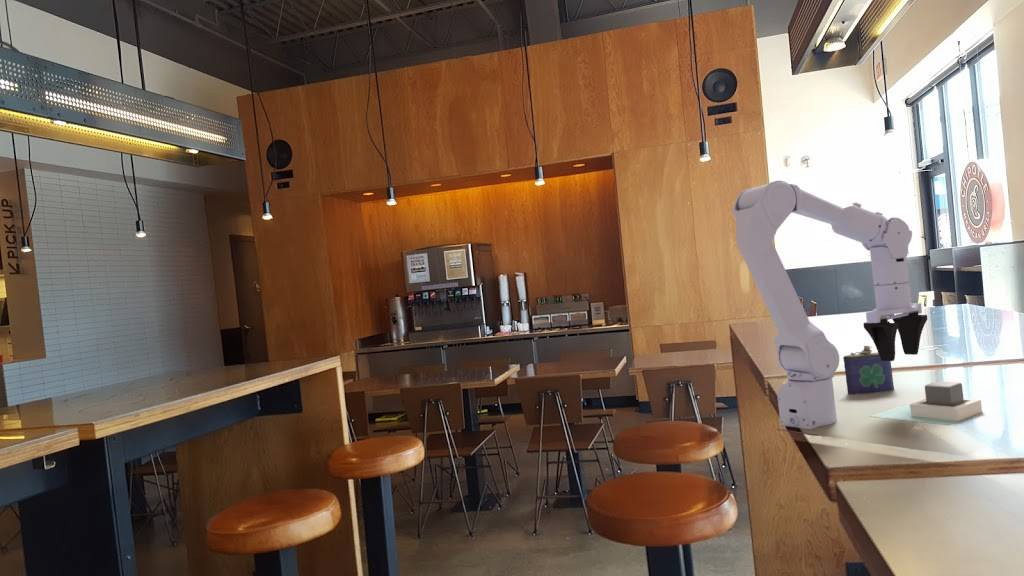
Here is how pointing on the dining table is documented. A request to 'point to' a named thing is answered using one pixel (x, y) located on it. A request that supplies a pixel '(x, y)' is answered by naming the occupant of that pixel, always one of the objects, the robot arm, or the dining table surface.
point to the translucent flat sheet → (905, 414)
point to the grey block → (944, 393)
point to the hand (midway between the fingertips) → (899, 357)
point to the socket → (946, 410)
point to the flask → (867, 372)
